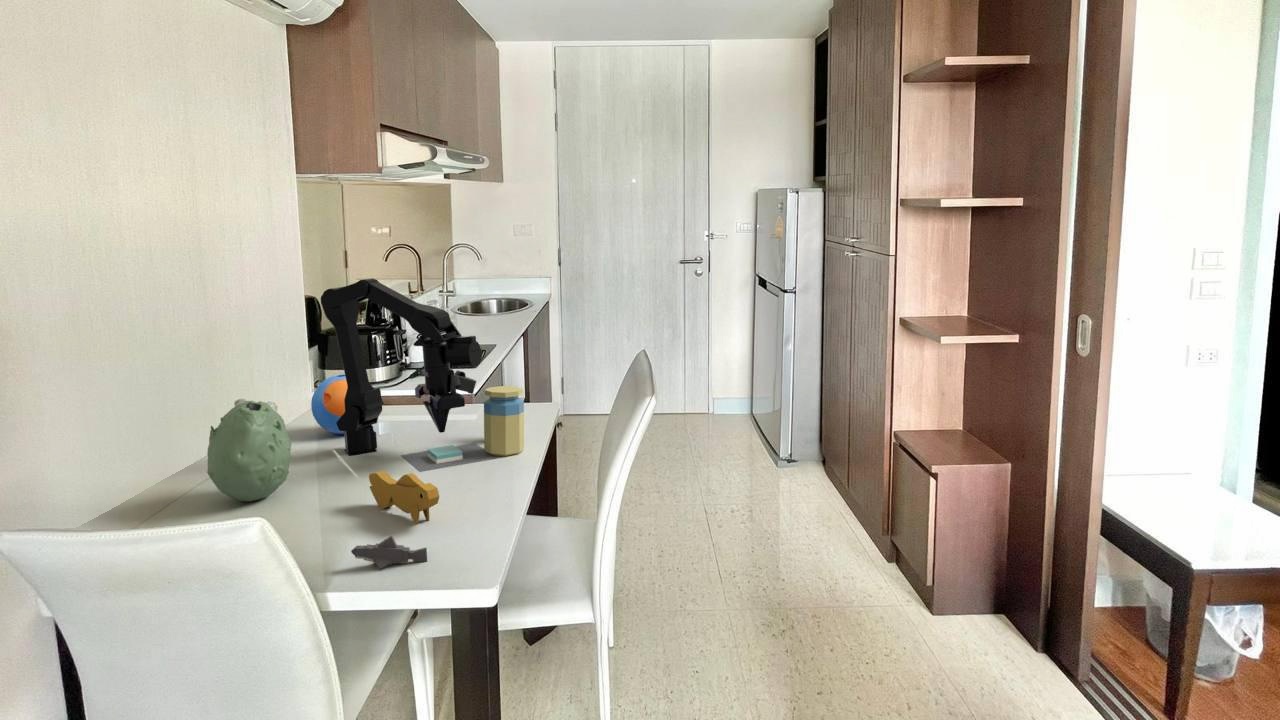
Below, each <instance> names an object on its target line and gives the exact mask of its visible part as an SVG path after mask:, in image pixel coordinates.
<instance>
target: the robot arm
mask: <svg viewBox="0 0 1280 720" xmlns="http://www.w3.org/2000/svg"><path fill="white" fill-rule="evenodd" d="M366 300H370V301H371V302H373V303H375V304H376V305H378V306H380V307H382V308H384V309H386V310H387V311H389V312H391V313H393V314H395V315H397V316H399V317H400V318H402V319H404V321H406V322H407V323H408V324H409V326H410V327H411V329H413V330H414V331H415V332H417V333H418V334H419V337H418V339H416V341H414V342H413V346H414V347H422V359H423V369H421V374H422V375H423V376H424V383H420V384H417V386H415V388H414V394H415V397H416V398H418V399H421V398H422V396H425V400H424V401H422V403H423V405H424V407H425V409H426V410H427V412H428V414H429V416H430V418H431V419H432V421H433V423H434V425H435V427H436V429H437V431H438V432H439V434H440V433H441V434H442V433H445V432H446V428H447V427H446V426H447V421H448V417H449V414H450V411H451V409H457V408H464V407H465V406H466V403H465V397H464V396H463V395H462V394H460V393H459V392H458V391H462V392H465V393H466V392H467V393H468V394H471V395H473V394H474V391H475V389H476V388H475V387H476V383H477V380H476V379H473V378H470V377H467V376H466V372H464V371H461V370H456V371H454V370H453V369H452V368H450V367H451V366H453V367H478V366H479V365H480V364H481V362H482V359H483V358H482V357H483V356H482V355H483V351H482V348H481V345H480V344H479V342H478V341H477V336H476V335H467V336H462V334H461V333H460V331H459V330H458V329H457V327H456V326H455V324H454V323H453V322H452V320H451V317H450V314H449V312H448V311H446V310H445V309H442V308H439V307H436V306H433V305H427V304H422V303H419V302H416V301H415V300H413V299H411V298H409V297H407V296H406V295H403V294H401V293H400V292H398V291H396V290H394V289H392V288H390V286H389V287H388V286H386V285H385V284H383V283H381V282H380V281H379V280H378V279H375V278H364V279H359V280H358V281H357V282H353V283H351V284H348V285H346V286H339V287H332V288H328V289H325V290H324V291H323V293H322V295H320V304H321V307H322V310H323V312H324V315H325V317H326V319H327V320H328V321H329V322H330V324H331V325H332V326H333V327H334V332H335V335H336V340H337V345H338V348H339V354H340V357H341V362H342V366H343V371H344V372H343V373H344V375H345V377H346V381H347V392H346V396H345V399H344V403H345V412H344V414H343V415H342V416H341V417H340V419H339V420H338V421H337V422H336V424H337V426H338V429H339V431H344V434H343V435H344V446H345V448H344V449H343V451H344V452H345V453H346V454H347V455H348V456H349V457H354V456H359V455H360V456H361V455H364V454H365V455H366V454H371V453H377V452H378V450H377V449H378V441H377V440H378V439H377V432H376V431H375V430H374V426H373V425H376V424H378V420H379V416H380V415H381V413H382V412H383V405H384V403H385V402H384V401H383V397H382V391H381V389H380V388H379V387H377V388H375V387H374V386H372V384H371V383H370V380H369V376H368V371H367V367H366V362H365V357H364V354H363V353H364V352H363V348H362V344H361V340H360V339H361V338H360V334H359V330H358V326H357V325H358V324H357V321H358V318H359V314H360V303H361V302H364V301H366Z"/></svg>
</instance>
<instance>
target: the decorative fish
mask: <svg viewBox="0 0 1280 720" xmlns="http://www.w3.org/2000/svg"><path fill="white" fill-rule="evenodd" d="M368 481H369V483H370V485H369V489H370V492H371V493H372V496H373V497H374V499H375V502H376V504H377V505H378V507H379V509H381V508H382V509H381V510H384V509H387V507H388V508H390V507H393V506H395V507H396V508H397V509H399V510H401V511H402V512H403V513H405V514H410V517H411V519H412V522H413V523H414V524H415V525H418V524H419V522H420V512H422V513H423V516H424V518H425V520H426V521H427V522H429V521H430V508H433V507H434V506H436V505H437V504H438V503H439V500H440V493H439V489H438V487H437V486H436V485H434V484H433V483H431V482H428V483H425V482H424V481H422V480H421V479H420V478H419V477H418V476H417V475H416V474H415V473H413V472H411V473H406V474H403V475H402V476H401V477H400V478H399V479H398V480H396V479H394V478H393V477H392V476H390V475H389V474H388V473H387V471H386V470H380V471H377V472H373V473H370V474H369V475H368Z"/></svg>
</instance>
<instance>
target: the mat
mask: <svg viewBox="0 0 1280 720" xmlns="http://www.w3.org/2000/svg"><path fill="white" fill-rule="evenodd" d="M454 446H455V445H454ZM455 447H456V448H458V449H459V450H461V451H462V455H463V459H461V460H455V461H449V462H443V463H438V464H437V463H436V462H434V461H433V460H432V459H430V458H429V457H428V450H424V451H419V452H418V451H417V452H412V453H406V454H400V456H401V457H402V458H403V459H404V460H405V461H406V462H408V463H409V464H410V465H411V466H412V467H414V469H415V470H417V471H419V473H424V472H427V471H434V470H438V469H444V468H451V467H455V466H462V465H468V464H473V463H479V462H486V461H490V460H496V459H498V456H494V455H492V454H489V453H488V452H486V451H484V448H483V447H482V446H480V445H478V444H477V443H475V442H472V443H467V444H461V445H456V446H455Z"/></svg>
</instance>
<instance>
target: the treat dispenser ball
mask: <svg viewBox="0 0 1280 720" xmlns="http://www.w3.org/2000/svg"><path fill="white" fill-rule="evenodd" d="M346 392H347V381H346V377H345V374H335V375H332V376H330V377H328V378H326V379H324V380H323V381H322V382H321V383H319V385H318V386H317V387H316V389H315V390H314V392H313V394H312V397H311V400H310V401H311V403H310V404H311V408H310V409H311V413H312V416H313V418H314V420H315V422H316V423H317V425H319V426H320V428H321V429H324V431H327V432H329V433H331V434H335V435H344V431H339V429H338V426H337V424H336V422H337V421H338V420H339V419H340V417H341V416H342V415H343V414H344V412H345V403H344V399H345V396H346Z"/></svg>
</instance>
